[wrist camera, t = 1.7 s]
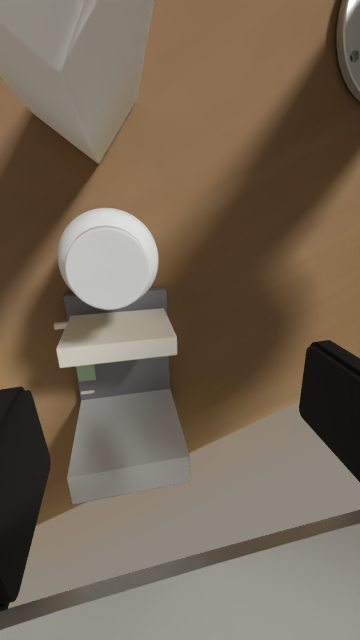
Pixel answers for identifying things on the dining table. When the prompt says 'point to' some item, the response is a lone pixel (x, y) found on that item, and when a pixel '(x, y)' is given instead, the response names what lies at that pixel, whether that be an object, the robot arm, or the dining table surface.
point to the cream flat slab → (115, 337)
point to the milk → (76, 63)
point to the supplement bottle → (107, 258)
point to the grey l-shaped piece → (125, 420)
